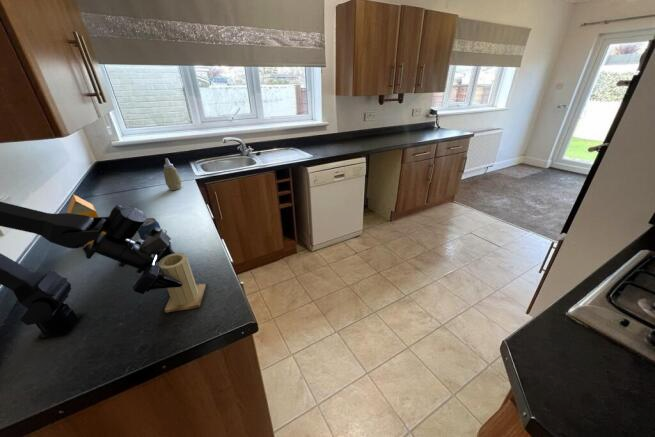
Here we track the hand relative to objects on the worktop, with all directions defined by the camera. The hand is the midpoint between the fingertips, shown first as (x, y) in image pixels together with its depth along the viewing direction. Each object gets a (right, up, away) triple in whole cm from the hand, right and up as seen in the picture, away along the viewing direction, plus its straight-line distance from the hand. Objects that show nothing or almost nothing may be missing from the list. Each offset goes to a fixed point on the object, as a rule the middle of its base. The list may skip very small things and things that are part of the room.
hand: (183, 274), depth 75 cm
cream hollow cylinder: (-1, -7, +3) cm, 8 cm away
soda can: (-25, +4, +27) cm, 37 cm away
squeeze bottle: (-49, +33, +83) cm, 102 cm away
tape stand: (-1, -8, +4) cm, 9 cm away
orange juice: (-51, +6, +31) cm, 60 cm away
